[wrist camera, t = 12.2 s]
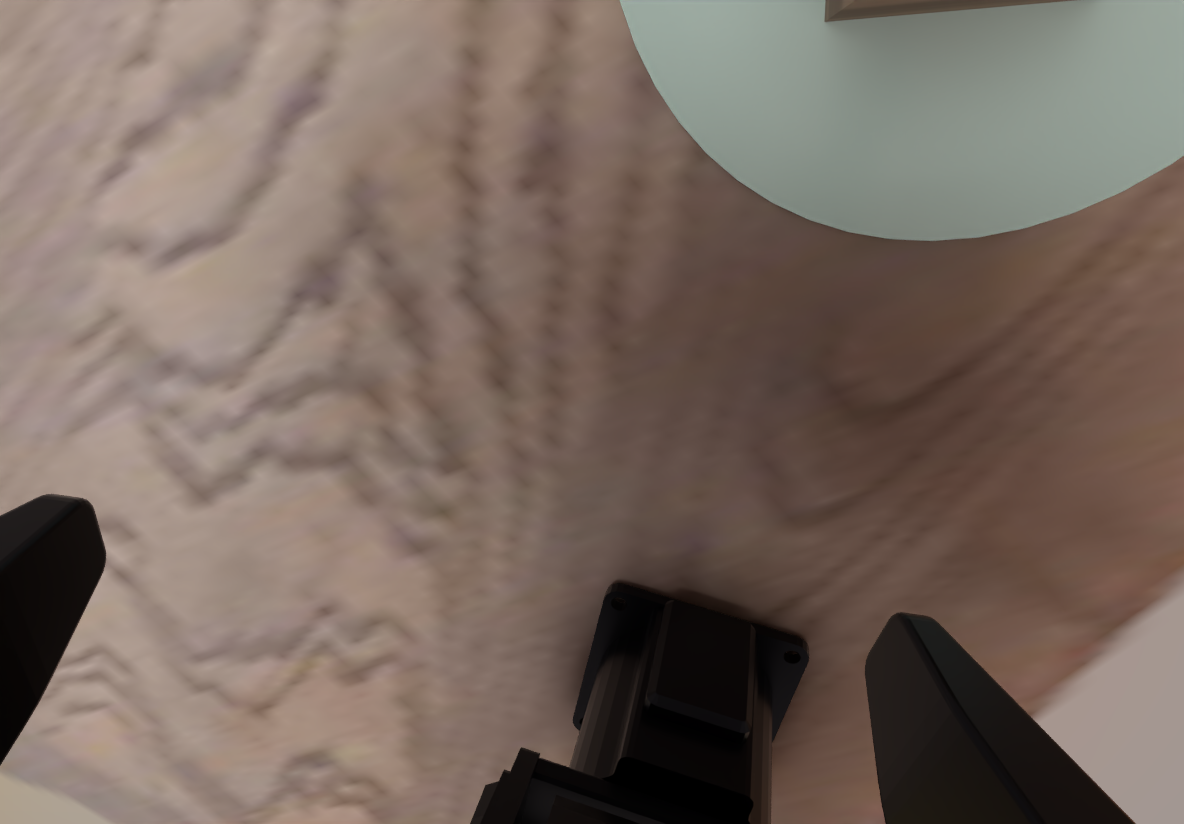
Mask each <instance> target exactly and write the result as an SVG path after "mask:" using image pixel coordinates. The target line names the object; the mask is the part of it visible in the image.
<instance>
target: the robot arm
mask: <svg viewBox="0 0 1184 824" xmlns="http://www.w3.org/2000/svg"><path fill="white" fill-rule="evenodd" d="M105 563H106V549H105V546H104V542H103V539H102V535H101V532H100V528H99V525H98V521H97V518H96V514H95V511H94V508H93V505H92V504H91V503H90V502H89V501H88V500H86V499H83V498H78V497H71V496H64V495H56V494H46V495H43V496H40V497H38V498H35V499H33V500H31V501H29V502H27V503H25V504H23V505H21V506H19V507H17V508H15V509H13V510H11V511H9V512H7V513H5V514H3V515H1V516H0V765H1V764H2V762H3V760H4V759H5V757H6V756H7V754H8V752H9V751H10V749H11V748H12V746H13V744H14V743H15V741H16V740H17V738H18V736H19V735H20V733H21V732H22V730H23V728H24V727H25V725H26V723H27V722H28V720H29V718H30V717H31V715H32V713H33V712H34V710H35V708H36V707H37V705H38V703H39V701H40V700H41V698H42V696H43V694H44V692H45V690H46V688H47V686H48V684H49V682H50V680H51V678H52V676H53V674H54V672H55V670H56V668H57V666H58V664H59V662H60V660H61V658H62V656H63V654H64V652H65V650H66V648H67V646H68V643H69V641H70V639H71V637H72V635H73V633H74V631H75V629H76V627H77V625H78V623H79V621H80V619H81V617H82V615H83V613H84V611H85V609H86V606H87V604H88V602H89V600H90V598H91V596H92V594H93V592H94V590H95V588H96V586H97V584H98V582H99V580H100V578H101V576H102V573H103V571H104V567H105ZM615 598H622V599H624V600H625V601H626V602H624V603H623V602H618V601H617V600H616V599H615ZM787 651H796V652H797V654H794V655H793V654H788V653H786V652H787ZM808 661H809V648H808V645H807V643H806V642H805V641H804V640H803V639H801V638H799V637H797V636H794V635H791V634H788V633H784V632H781V631H778V630H774V629H771V628H768V627H765V626H761V625H758V624H755V623H751V622H748V621H745V620H741V619H738V618H735V617H732V616H728V615H725V614H722V613H718V612H715V611H712V610H708V609H705V608H702V607H699V606H695V605H692V604H689V603H685V602H682V601H679V600H675V599H672V598H669V597H666V596H662V595H659V594H656V593H652V592H649V591H646V590H642V589H639V588H636V587H633V586H629V585H626V584H620V583H617V584H613V585H611V586H610V587H609V588H608V589H607V591H606V594H605V597H604V601H603V604H602V608H601V612H600V616H599V620H598V624H597V628H596V631H595V635H594V639H593V643H592V647H591V651H590V655H589V658H588V662H587V666H586V670H585V674H584V678H583V682H582V685H581V689H580V693H579V697H578V701H577V705H576V709H575V712H574V716H573V724H574V726H575V727H576V728H577V729H578V730H579V731H580V732H579V736H578V739H577V743H576V746H575V749H574V753H573V756H572V760H571V763H570V766H569V767H566V766H563V765H560V764H557V763H554V762H551V761H548V760H545V759H542V758H539V757H540V753H537V752H534V751H531V750H528V749H525V748H522V747H521V749H520V751H519V753H518V755H517V758H516V760H515V762H514V765H513V767H512V769H511V772H510V771H507V770H504V771H503V773H502V776H501V778H500V780H499V781H498V782H495V783H491V784H488V785H486V786H485V788H484V791H483V793H482V796H481V798H480V801H479V803H478V806H477V808H476V811H475V813H474V816H473V818H472V820H471V823H470V824H771V778H772V742H773V740H774V738H775V735H776V733H777V731H778V729H779V726H780V724H781V722H782V720H783V717H784V715H785V713H786V711H787V709H788V706H789V704H790V702H791V700H792V697H793V695H794V693H795V691H796V688H797V686H798V684H799V682H800V679H801V677H802V675H803V673H804V671H805V668H806V666H807V664H808ZM865 678H866V686H867V694H868V702H869V711H870V719H871V727H872V735H873V743H874V751H875V759H876V767H877V775H878V783H879V789H880V796H881V802H882V808H883V812H884V817H885V822H886V824H1135V822H1133V820H1132V819H1131V818H1130V817H1129V816H1128V815H1127V814H1126V813H1125V812H1124V811H1123V810H1122V809H1121V808H1120V807H1119V806H1118V805H1117V804H1116V803H1115V802H1114V801H1113V800H1112V799H1111V798H1110V797H1109V796H1108V795H1107V794H1106V793H1105V792H1104V791H1103V790H1102V789H1101V788H1100V787H1099V786H1098V785H1097V784H1096V783H1095V782H1094V781H1093V780H1092V779H1091V778H1090V777H1089V776H1088V775H1087V774H1086V773H1085V772H1084V771H1083V770H1082V769H1081V768H1080V767H1079V766H1078V764H1077V763H1076V762H1075V761H1074V760H1073V759H1072V758H1071V757H1070V756H1069V755H1068V754H1067V753H1066V752H1065V751H1064V750H1063V749H1061V747H1060V746H1059V745H1058V744H1057V743H1056V742H1055V741H1054V740H1053V739H1051V737H1050V736H1049V735H1048V734H1047V733H1046V732H1045V731H1044V730H1043V729H1042V728H1041V727H1040V726H1039V725H1038V724H1037V723H1036V722H1035V721H1034V720H1033V719H1032V718H1031V717H1030V716H1029V715H1028V714H1027V713H1026V712H1025V711H1024V710H1023V709H1022V708H1021V707H1020V706H1019V705H1018V703H1017V702H1016V701H1015V700H1014V699H1013V698H1012V697H1011V696H1010V695H1009V694H1008V693H1007V692H1006V691H1005V690H1004V689H1003V688H1002V687H1001V686H1000V685H999V684H998V683H997V682H996V681H995V680H994V679H993V678H992V677H991V676H990V675H989V674H988V673H987V672H986V671H985V670H984V669H983V668H982V667H981V666H980V665H979V664H978V663H977V662H976V661H975V660H974V659H973V658H972V657H971V656H970V655H969V654H968V653H967V652H966V651H965V650H964V649H963V648H962V647H961V646H960V645H959V644H958V642H957V641H956V640H955V639H954V638H953V637H952V636H951V635H950V634H949V633H948V632H947V631H946V630H945V629H944V628H943V627H942V626H941V625H940V624H939V623H938V622H937V621H935V620H934V619H932V618H931V617H928V616H924V615H917V614H910V613H902V612H900V613H896V614H894V615H893V616H891V618H890V619H889V620H888V622H887V624H886V625H885V627H884V629H883V630H882V632H881V634H880V635H879V637H878V639H877V640H876V642H875V644H874V645H873V647H872V649H871V650H870V652H869V654H868V656H867V660H866V665H865Z"/></svg>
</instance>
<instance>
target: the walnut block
mask: <svg viewBox="0 0 1184 824" xmlns="http://www.w3.org/2000/svg"><path fill="white" fill-rule="evenodd" d="M1062 1H1074V0H825V20H824V22H831V21H842V20H854V19H865V18H877V17H888V16H900V15H912V14H923V13H935V12H946V11H958V10H969V9H981V8H993V7H1004V6H1016V5H1027V4H1039V3H1050V2H1062Z"/></svg>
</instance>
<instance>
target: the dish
mask: <svg viewBox="0 0 1184 824" xmlns="http://www.w3.org/2000/svg"><path fill="white" fill-rule="evenodd" d="M620 3H621V6H622V9H623V12H624V15H625V18H626V20H627V23H628V26H629V29H630V32H631V35H632V38H633V41H634V43H635V46H636V48H637V50H638V52H639V54H640V57H641V59H642V61H643V63H644V65H645V67H646V69H647V71H648V73H649V75H650V77H651V79H652V81H653V83H654V85H655V87H656V88H657V90H658V91H659V93H660V94H661V96H662V97H663V99H664V100H665V102H666V103H667V105H668V106H669V108H670V109H671V111H672V112H673V114H674V115H675V117H676V118H677V120H678V121H679V123H680V124H681V125H682V126H683V127H684V128H685V130H686V131H687V132H688V133H689V134H690V135H691V136H692V138H693V139H694V140H695V141H696V142H697V143H698V144H699V146H700V147H701V148H702V149H703V150H704V151H705V152H706V153H707V154H708V155H709V156H710V157H711V158H712V159H713V160H715V161H716V162H717V163H718V164H719V165H720V166H721V167H723V168H724V169H725V170H726V171H727V172H728V173H730V174H731V175H732V176H733V177H734V178H735V179H736V180H738V181H739V182H741V183H742V184H744V185H745V186H747V187H748V188H750V189H752V190H753V191H755V192H756V193H758V194H759V195H761V196H762V197H764V198H765V199H767V200H769V201H770V202H772V203H774V204H776V205H778V206H780V207H782V208H784V209H787V210H789V211H791V212H793V213H795V214H797V215H799V216H802V217H804V218H806V219H808V220H811V221H814V222H817V223H821V224H824V225H827V226H830V227H833V228H837V229H840V230H843V231H846V232H851V233H857V234H863V235H868V236H874V237H880V238H886V239H899V240H921V241H939V240H952V239H965V238H978V237H983V236H988V235H993V234H999V233H1004V232H1009V231H1014V230H1019V229H1024V228H1028V227H1031V226H1034V225H1037V224H1040V223H1044V222H1047V221H1050V220H1053V219H1056V218H1060V217H1063V216H1066V215H1069V214H1072V213H1075V212H1077V211H1079V210H1082V209H1084V208H1086V207H1089V206H1091V205H1093V204H1096V203H1098V202H1100V201H1102V200H1105V199H1107V198H1109V197H1112V196H1114V195H1116V194H1119V193H1121V192H1123V191H1125V190H1126V189H1128V188H1130V187H1132V186H1134V185H1135V184H1137V183H1139V182H1141V181H1142V180H1144V179H1146V178H1148V177H1150V176H1151V175H1153V174H1155V173H1157V172H1159V171H1160V170H1162V169H1164V168H1166V167H1167V166H1169V165H1171V164H1172V163H1174V162H1175V161H1177V160H1178V159H1180V158H1181V157H1182V156H1184V0H1074V1H1062V2H1050V3H1039V4H1027V5H1016V6H1004V7H993V8H981V9H969V10H958V11H946V12H935V13H923V14H912V15H900V16H888V17H877V18H865V19H854V20H842V21H831V22H824V20H825V0H620Z"/></svg>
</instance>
